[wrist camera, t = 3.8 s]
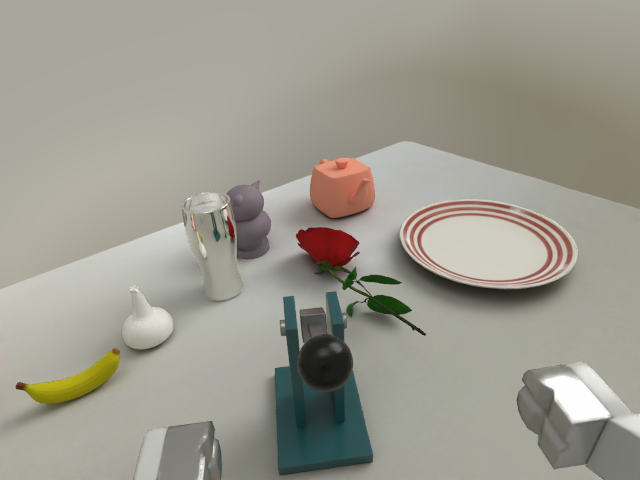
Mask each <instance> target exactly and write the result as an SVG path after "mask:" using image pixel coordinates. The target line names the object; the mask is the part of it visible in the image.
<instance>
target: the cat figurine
mask: <svg viewBox="0 0 640 480" xmlns="http://www.w3.org/2000/svg"><path fill="white" fill-rule="evenodd" d="M259 183H260V180H258V181H257V182H255V183H253V184H252V185H239V186H236V187H234V188H232V189H231V190H230V191H229V192H228V193H227V195H228V196H229V197H230V201H231V205H232V209H233V212H234V216H235V221H236V227H237V257H240V258H244V259H252V258H257V257H260V256H262V255H264V254H265V253H266V252H267V251H268V250H269V242H268V239H267V237H266V236H267V235H268V233H269V231H270V228H271V220H270V218H269V216H268V214H267V213H266V212H265V211H263V206H264V199H263V196H262V194H261V193H260V191H259Z"/></svg>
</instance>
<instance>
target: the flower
mask: <svg viewBox="0 0 640 480" xmlns="http://www.w3.org/2000/svg"><path fill="white" fill-rule="evenodd" d="M296 238H297V239H298V241H299V242H300V244H299V243H298V245H299V246H300V247H301V248H302V249H304V250H305V251H307V252H308V253H309V255H310V256H311V257H312V258H313V259H314V260H315V261H316V262H317V265H318V264H320V265H322V266H319V267H318V270H319V272H317V273H314V274H322V273H324V272H325V271H327V270H329V272H330V273H331V274H332V275H333V276H334V277H335V278H336V279H337V280H339V281H340V282H341V283H343V288H342V289H343V290H346V288H348V287H349V288H350V289H352V290H354V291H356V292H358V293H360V294H362V295H364V296H367V297H368V298H366V299H365V301H363V302H360V303H364V302H366V300H367V299H369V300H368V304H367V305H368V307H369V308H370V309H372V310H374V311H376V312H379V313H384V314H392V315H394V316H396V317H397V318H399V319H400V320H402V321H403V322H405V323H406V324H408V325H409V326H411V328H412V329H413V330H414V329H415V330H417V331H418V332H419V333H421V334H422V335H424V336H425V335H426V334H425V333H424V332H423V331H422V330H420V328H417V327H416V326H414V325H413V324H411V323H410V322H408V321H407V320H405V319H404V318H402V317H401V316H399V315H400V314H405V313H408V312H410V311H412V310H411V309H410V308H409V307H408V306H406V305H405V304H404V303H402V302H401V301H399V300H397V299H395V298H393V297H389V296H384V295H376V296H374V297H372V296H370V295H371V294H370V293H369V292H368V291H367V290H366V289H365V288H364V289H365V290H366V291H367V292H368V293H369V294H370V295H368V294H366V293H364V292H362V291H360V290H357V289H355V288H354V287H352V286H351V285H352V284H353V280H354V279H356V276H357V273H356V267H355V268H354V270H353V271H352V272H349V271H348V270H347V269H345V268H343V267H341V266H344V265H346V264H347V263H348V262H349V261H350V260H351V259H352V258H353V257H355V256H357V255H358V254H359V253H360V252H357V253H355V254H354V255H353V256H352V257H350V255H351V254H352V253H353V252H354V250H355V249H356V248H357V246H358V245H359V242H358V241H357V240H356V239H355V238H353V237H352V236H351V235H349V234H347V233H345V232H343V231H341V230H334V229H330V228H321V227H320V228H308V229H307V230H306V231H304V230H299V232H298V234H296ZM333 269H334V270H338V271H344V272H346V273H349V275H348V276H347V279H346V280H345V281H343V280H341V279H340V278H339V277H337V276H336V275H335V274H334V273H333V272H332V271H331V270H333ZM360 280H361V281H365V282H377V283H381V284H393V285H394V284H400V283H402V282H399V281H397V280H395V279H392V278H389V277H385V276H381V275H369V276H364V277H362V278H360ZM356 281H357V279H356ZM356 281H354V282H356ZM358 281H359V280H358ZM358 281H357V283H358V284H360V285H361V286H362V287H364V286H363V285H362V284H361V283H360V282H358ZM358 302H359V301H357V302H355V303H352V304H350V305H349V306H348V307H347V313H348V315H349V316H351V317H352V307H353V305H355V304H356V303H358ZM366 303H367V302H366Z"/></svg>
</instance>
